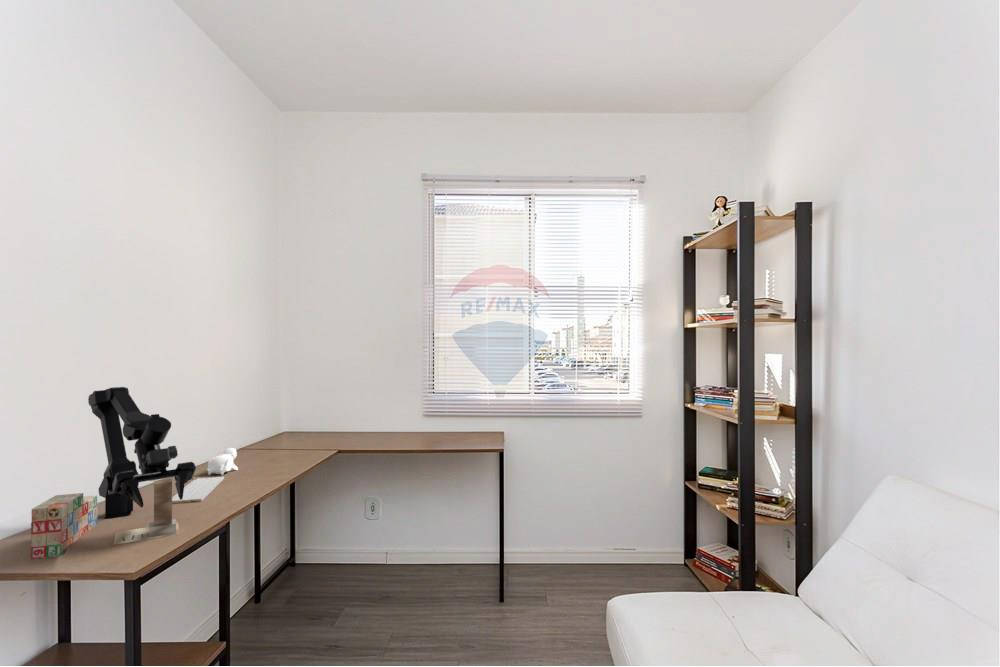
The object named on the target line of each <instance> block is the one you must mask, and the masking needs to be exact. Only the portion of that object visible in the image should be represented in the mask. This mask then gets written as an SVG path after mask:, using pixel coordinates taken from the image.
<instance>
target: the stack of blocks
mask: <svg viewBox="0 0 1000 667" xmlns="http://www.w3.org/2000/svg"><path fill="white" fill-rule="evenodd" d="M98 509H99V508H98V495H84V492H79V493H69V494H67V493H65V494H56V495H54V496H52V497H50V498H48V499H47V500H45V501H43V502H41V503H40V504H38V505H36V506H35V507H33V508H31V522H30V523H31V524H30V534H31V537H30V538H31V539H30V540H31V543H30V544H31V545H30V546H31V547H30V560H35V558H38V559H43V558H42V557H47V558H54V557H53V556H57V557H62V556H63V555H64V554H65V553H66V551H67V548H68V547H69V546H70V545H72V544H73V543H75V542H76V541H77V540H79V538H81V537H82V536H84V534H86V533H87V532H89V531H91V529H93V528H94V527H95V526H96V525H98ZM61 555H62V556H61Z"/></svg>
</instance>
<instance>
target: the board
mask: <svg viewBox="0 0 1000 667" xmlns="http://www.w3.org/2000/svg"><path fill="white" fill-rule="evenodd" d="M175 535H180V528H179V522H177V521H176V533H174V534H168V535H162V536H156V537H150V538H149V526H146V527H141V528H135V529H134V528H133V529H129V530H123V531H115V535H114V540H113V546H114V545H122V544H128V543H134V542H140V541H146V540H152V539H156V538H157V539H159V538H164V537H169V536H175Z"/></svg>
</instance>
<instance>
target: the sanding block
mask: <svg viewBox="0 0 1000 667" xmlns="http://www.w3.org/2000/svg"><path fill="white" fill-rule="evenodd" d="M172 497H173V479H172V478H165V479H159V480H153V521H152V522H149V523H148V524H149V526H148V527H149V538H150V537H156V536H162V535H168V534H174V533H176V523H177V518H173V504H172Z"/></svg>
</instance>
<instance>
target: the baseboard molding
mask: <svg viewBox="0 0 1000 667" xmlns="http://www.w3.org/2000/svg"><path fill="white" fill-rule="evenodd" d="M208 475H209V476H210V477H209V476H208ZM224 475H225V474H223V476H213V475H212V474H211V475H210V474H208V473H206V474H204V476H208V477H198V478H196V479H193V477H192V479H191V480H189V481H190V482H189V483H187V485H185V486H184V492H183V498H182V500H180V498H179V496H178V492H177V493H176V494H175V495H172V503H176V504H179V503H178V502H189V503H191V502H190V501H201V502H203V500H204V499H205V498H207V496H208V495H209V494H210V493H211V492H212V491H213V490H215V488H216V487H217V486H218V485H220V483H221V482H222V481H223V480H225V476H224ZM211 476H213V477H211ZM192 480H193V481H192Z"/></svg>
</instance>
